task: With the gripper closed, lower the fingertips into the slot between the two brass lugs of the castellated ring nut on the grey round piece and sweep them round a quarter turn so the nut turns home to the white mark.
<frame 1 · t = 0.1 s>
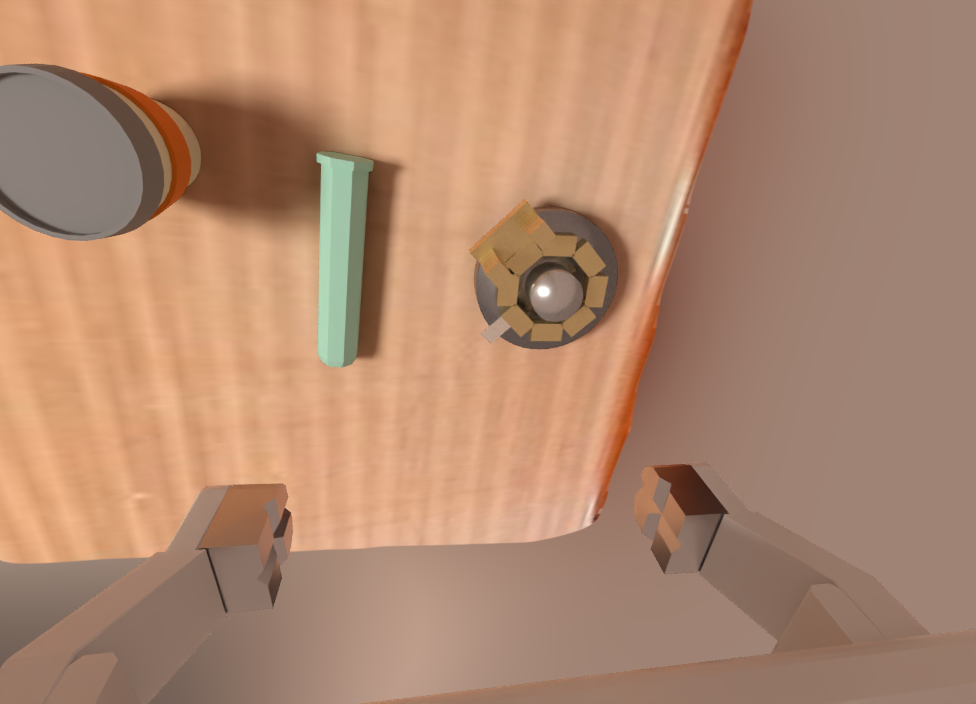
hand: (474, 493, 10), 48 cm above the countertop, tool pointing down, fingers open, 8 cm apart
grey round piece: (542, 277, 59), on the countertop
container: (344, 263, 55), on the countertop
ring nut: (547, 286, 53), point 7 cm above the countertop, hinge at 0.0°
reusable coffee cup: (154, 146, 47), on the countertop
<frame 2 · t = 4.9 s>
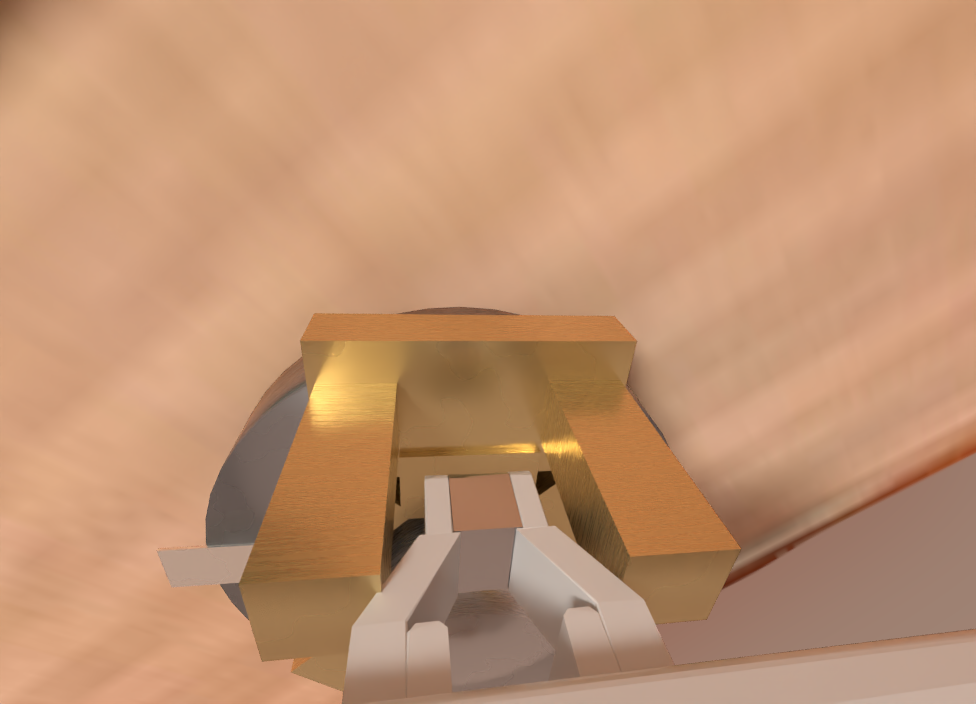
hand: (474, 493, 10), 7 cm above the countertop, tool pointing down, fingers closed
grey round piece: (453, 491, 20), on the countertop
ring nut: (468, 620, 14), point 7 cm above the countertop, hinge at 0.2°, touching gripper
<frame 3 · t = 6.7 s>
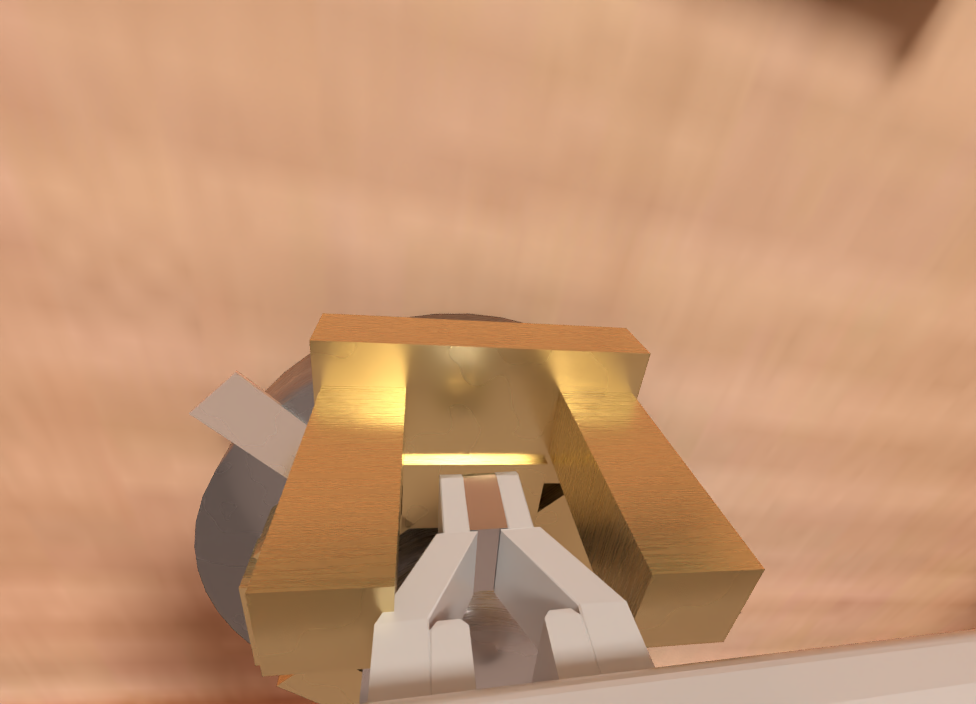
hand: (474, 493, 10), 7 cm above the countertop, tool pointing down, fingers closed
grey round piece: (449, 502, 20), on the countertop
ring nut: (467, 636, 13), point 7 cm above the countertop, hinge at 45.4°, touching gripper
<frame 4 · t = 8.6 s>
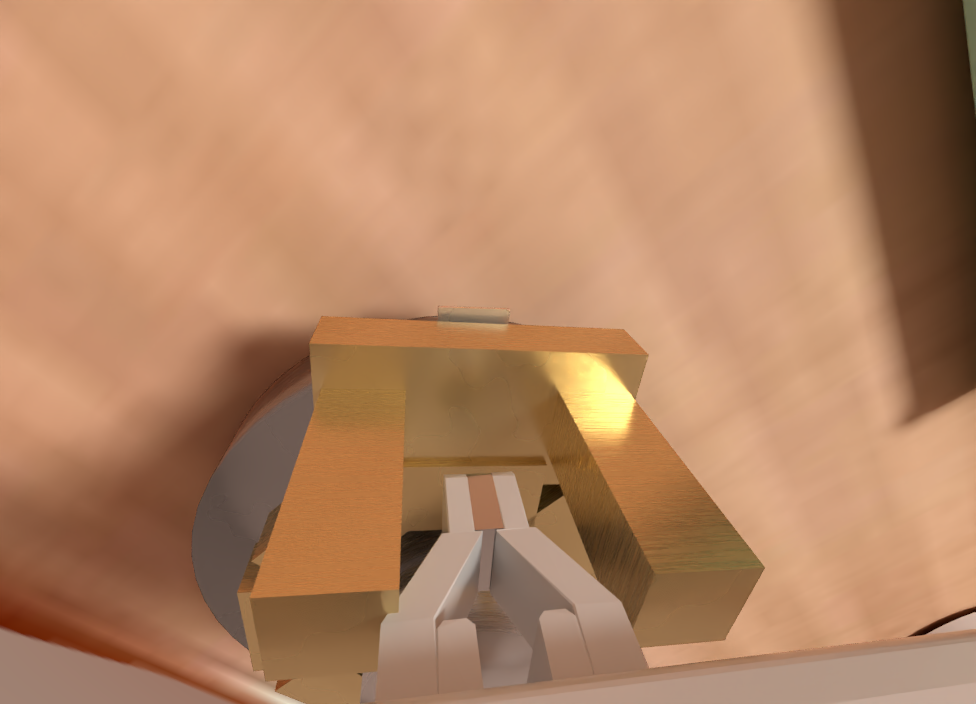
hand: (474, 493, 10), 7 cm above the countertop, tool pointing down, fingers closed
grey round piece: (447, 504, 20), on the countertop
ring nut: (467, 638, 13), point 7 cm above the countertop, hinge at 89.0°, touching gripper
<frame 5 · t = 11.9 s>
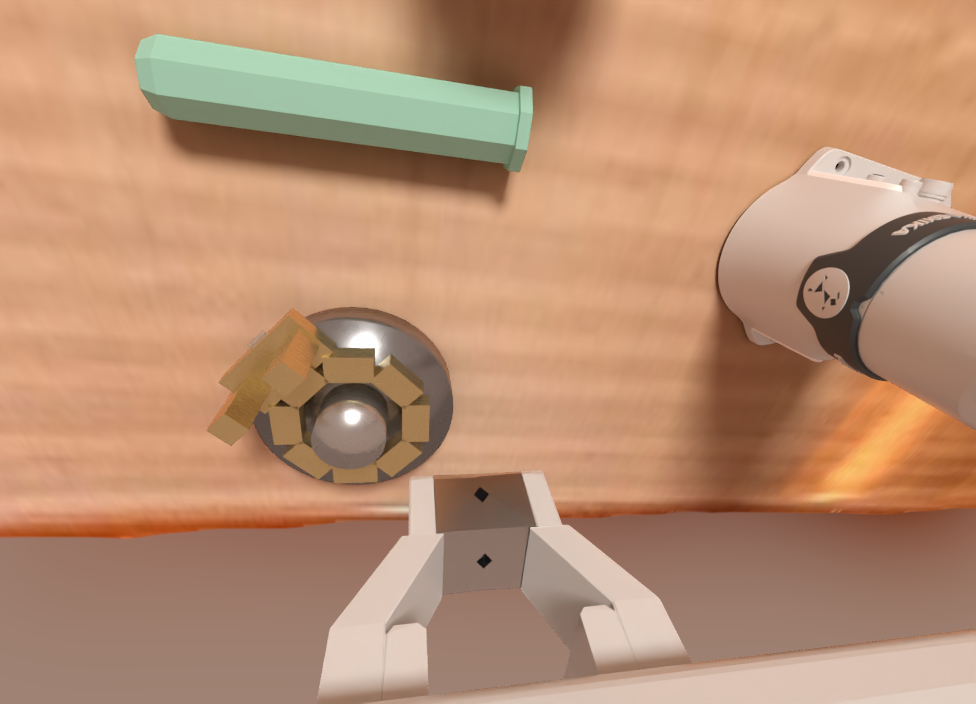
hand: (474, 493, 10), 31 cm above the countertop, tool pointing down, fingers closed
grey round piece: (358, 393, 44), on the countertop
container: (351, 104, 34), on the countertop
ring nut: (333, 425, 38), point 7 cm above the countertop, hinge at 89.0°
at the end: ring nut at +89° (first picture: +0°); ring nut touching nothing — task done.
